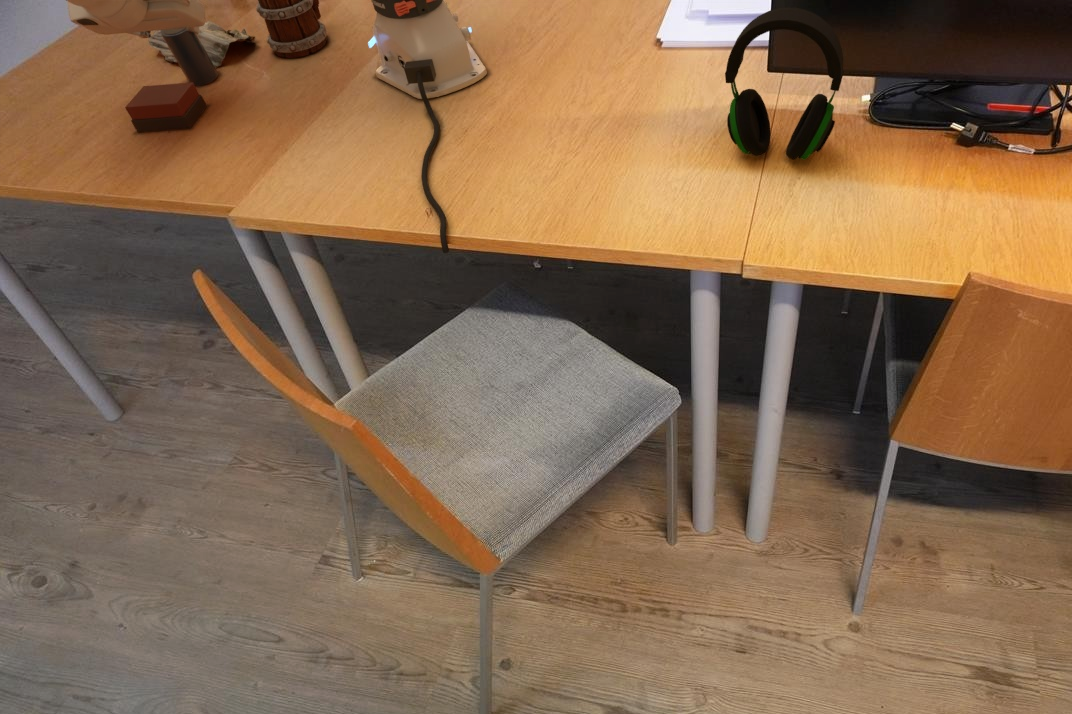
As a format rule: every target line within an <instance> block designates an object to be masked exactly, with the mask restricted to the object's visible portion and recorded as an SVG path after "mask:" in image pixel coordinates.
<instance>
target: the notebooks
mask: <svg viewBox="0 0 1072 714" xmlns="http://www.w3.org/2000/svg"><path fill="white" fill-rule="evenodd" d="M207 107H208V105H207V103H206V102H205V99H204V97H203V96H202V94H200V93H199V91H198V89H197V86H195V85H194V83H193V82H191V83H189V82H180V83H169V84H168V83H167V84H155V85H154V84H152V85H144V86H142V87H141V88H140V90H138V91H137V93H136V94H135V95H134V96H133V97H132V99H130V101H129V102H128V103H127V104H126V106H125V107H124V108H125V110H126V112H127V114H128V115H129V117H130V118H131V120H130V122H131V124H132V125H133V127H134V129H135V130H136V132H137V133H149V132H150V133H151V132H164V131H176V130H177V131H179V130H190V129H192V128H193V126H194V125H195V123H196V122H197V120H198V119H199V117H201V114H203V112H204V111H205V109H207Z"/></svg>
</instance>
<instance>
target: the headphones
mask: <svg viewBox="0 0 1072 714" xmlns="http://www.w3.org/2000/svg"><path fill="white" fill-rule="evenodd" d="M779 30H785V31H786V30H787V31H793V32H797V33H800V34H803V35H804V36H806V37H808V38H809V39H811V40H812V41H813V42H814V43H816V45H817V46H818V47H819V48H820V50H821V51H822V53H823V56H824V59H825V61H826V68H827V75H828V77H829V78H830V79H831V84H830V87H829V88H830V89H829V90H830V91H833V93H832V95H831V96H830V99H829V100H828V96H827V95H825V94H823V93H817V94H816V95H814V96H813V97H812V99H810V101H809V103H808V104H807V107H806V108H805V110H804V111H803V113H802V115H801V117H800V118H799V120H798V122H797V123H796V126H795V128H794V130H793V132H792V134H791V136H790V139H789V141H788V144H787V147H786V149H785V155H786V157H787V158H788V159H790V160H793V161H794V160H797V159H801V160H807V159H808V158H809V157H810V156H811V155H812V154H814V153H819V152H820V151H821V150H822V149H823V147H824V146H825V144H826V142H827V141H828V139H829V137H830V135H831V133H832V131H833V129H834V127H835V123H836V121H835V120H833V119H834V118H833V117H834V109H835V106H834V104H832V102H833V100H834V97H835V94H836V92H839V91H840V88H841V84H842V82H843V76H844V73H845V70H844V54H843V48H842V45H841V42H840V39H839V37H838V36H837V34H836V32H835V31H834V29H833V28H832V27H831V26H830V24H829V23H828V22H827V21H825V20H824V19H823V18H822V17H821V16H819V15H818V14H816V13H814V12H812V11H810V10H807V9H804V8H800V7H792V6H791V7H787V6H785V7H778V8H774V9H770V10H768V11H766V12H763V13H762V14H760V15H758V16H757V17H755V18H754V19H752V20H751V21H750V22H748V24H747V25H746V26H744V28H743V29H742V31H741V32H740V33H739V35H738V37H737V38H736V40H735V43H734V44H733V46H732V49H731V51H730V52H729V55H728V58H727V62H726V69H725V72H724V78H725V79H724V80H725V83H726V84H730V88H731V92H732V96H733V99H732V100H731V102H730V105H729V113H728V114H727V118H726V119H727V120H726V122H727V124H726V125H727V129H728V134H729V137H730V139H731V141H732V142H733V143H734V144H735V145H736V146H737V148H738V150H739V151H740V152H741V153H742V154H745V155H752V156H754V157H759V156H760V157H761V156H763V155H765V154H766V153H767V152H768V151H769V149H770V145H771V139H772V138H771V137H772V136H771V134H772V131H771V123H770V118H769V117H770V116H769V113H768V110H767V106H766V104H765V101H764V99H763V98H762V96H761V94H759V92H758V91H757V90H756V89H754V88H746V89H744V90H741V92H740V93H739V90H738V88H737V84H736V78H737V77H738V74H739V70H740V67H741V65H742V63H743V61H744V57H745V55H744V54H745V53H746V52H745V51H746V49H747V47H749V45H750V44H751V43H752V42H753V41H754V40H756V39H757V38H758V37H760V36H762V35H764V34H767V33H769V32H772V31H779Z"/></svg>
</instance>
